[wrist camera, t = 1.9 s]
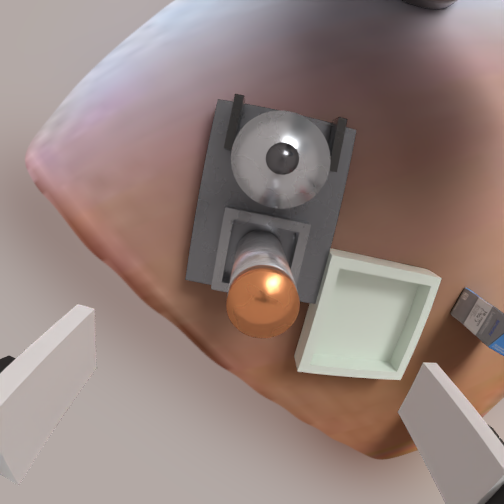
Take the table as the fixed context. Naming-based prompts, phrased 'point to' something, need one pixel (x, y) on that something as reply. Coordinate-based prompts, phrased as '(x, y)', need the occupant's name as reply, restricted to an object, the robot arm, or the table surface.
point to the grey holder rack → (269, 191)
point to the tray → (365, 317)
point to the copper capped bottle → (261, 287)
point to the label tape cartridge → (481, 319)
